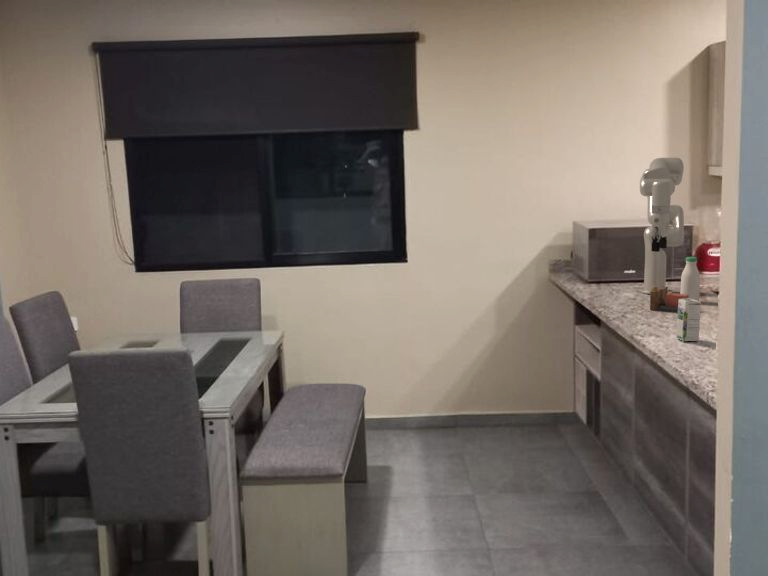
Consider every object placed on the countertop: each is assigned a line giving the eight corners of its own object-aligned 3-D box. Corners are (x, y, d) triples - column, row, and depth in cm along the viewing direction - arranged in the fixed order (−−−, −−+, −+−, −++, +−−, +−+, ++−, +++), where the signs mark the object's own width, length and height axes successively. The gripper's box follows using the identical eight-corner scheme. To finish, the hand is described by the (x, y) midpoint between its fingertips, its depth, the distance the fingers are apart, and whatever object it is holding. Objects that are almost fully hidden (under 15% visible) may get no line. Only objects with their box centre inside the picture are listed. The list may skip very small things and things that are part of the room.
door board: (661, 304, 328) (662, 282, 327) (667, 305, 327) (668, 282, 325) (649, 310, 317) (650, 286, 315) (655, 311, 315) (656, 287, 314)
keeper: (665, 306, 324) (665, 301, 324) (694, 309, 317) (694, 304, 317) (658, 309, 318) (658, 305, 317) (687, 313, 310) (687, 308, 310)
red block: (684, 310, 313) (685, 294, 312) (665, 308, 318) (665, 293, 317) (687, 308, 317) (688, 293, 315) (668, 306, 322) (669, 291, 320)
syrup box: (675, 339, 267) (677, 298, 265) (691, 338, 268) (693, 298, 265) (683, 342, 262) (685, 301, 259) (699, 342, 262) (701, 301, 260)
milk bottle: (700, 304, 328) (702, 258, 324) (681, 303, 329) (683, 258, 326) (696, 300, 335) (699, 256, 332) (678, 300, 337) (680, 256, 333)
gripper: (663, 212, 312) (661, 253, 315) (675, 208, 325) (674, 247, 329) (645, 211, 316) (643, 252, 320) (658, 207, 329) (656, 246, 333)
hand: (659, 249), depth 324 cm, fingers open, 9 cm apart
